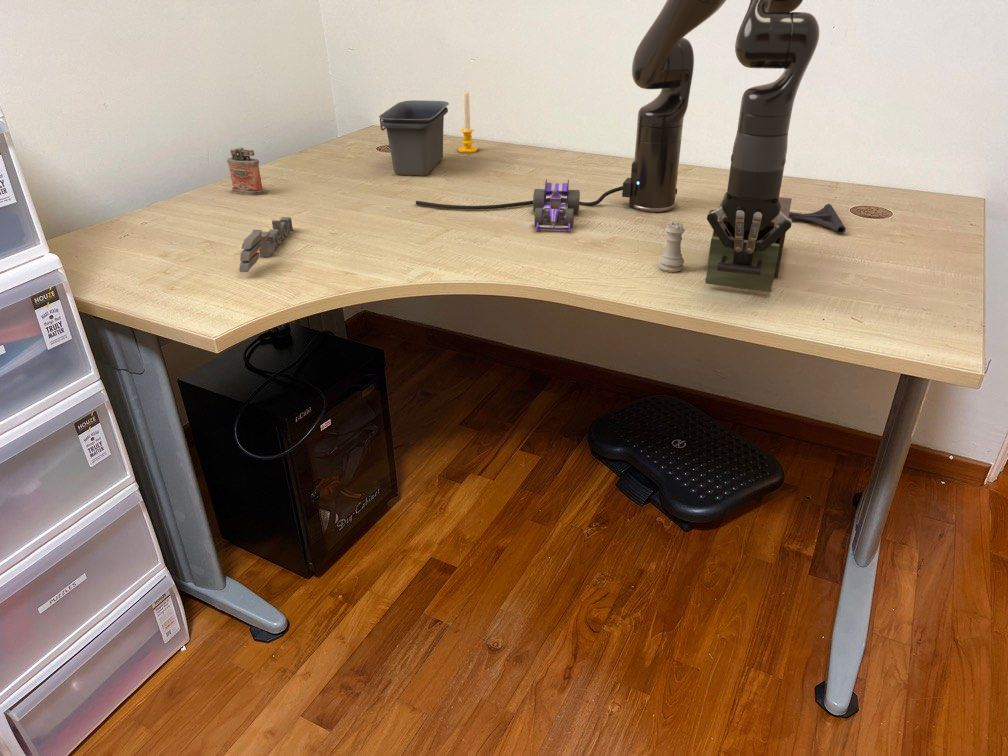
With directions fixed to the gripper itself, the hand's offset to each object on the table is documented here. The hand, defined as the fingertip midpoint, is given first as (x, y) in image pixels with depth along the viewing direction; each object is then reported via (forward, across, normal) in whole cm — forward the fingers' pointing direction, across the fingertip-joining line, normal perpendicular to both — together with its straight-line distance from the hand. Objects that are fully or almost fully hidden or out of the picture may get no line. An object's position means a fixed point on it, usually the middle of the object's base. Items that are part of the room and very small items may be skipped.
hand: (740, 273), depth 120 cm
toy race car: (+4, +39, -28) cm, 48 cm away
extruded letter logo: (+4, +84, +7) cm, 85 cm away
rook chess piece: (+5, +12, -10) cm, 16 cm away
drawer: (+4, 0, -7) cm, 8 cm away
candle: (+4, +79, -76) cm, 110 cm away
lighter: (+4, +112, -24) cm, 115 cm away
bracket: (+5, -8, -43) cm, 44 cm away
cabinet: (+4, 0, -18) cm, 19 cm away
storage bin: (+4, +85, -56) cm, 102 cm away
